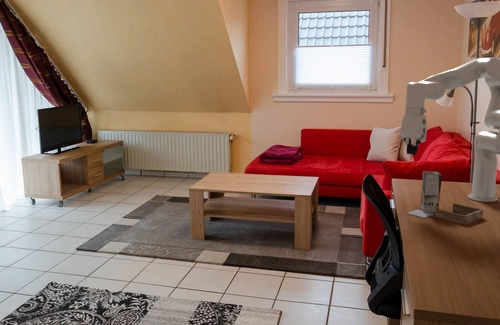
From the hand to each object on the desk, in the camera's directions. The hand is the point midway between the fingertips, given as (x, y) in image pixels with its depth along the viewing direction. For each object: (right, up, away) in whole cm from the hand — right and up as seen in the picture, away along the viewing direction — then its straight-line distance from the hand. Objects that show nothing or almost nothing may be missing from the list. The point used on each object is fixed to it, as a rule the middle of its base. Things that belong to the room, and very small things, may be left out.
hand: (411, 153), depth 211 cm
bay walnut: (+14, -26, -13) cm, 33 cm away
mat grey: (+1, -25, -9) cm, 27 cm away
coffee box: (+6, -24, -3) cm, 25 cm away
